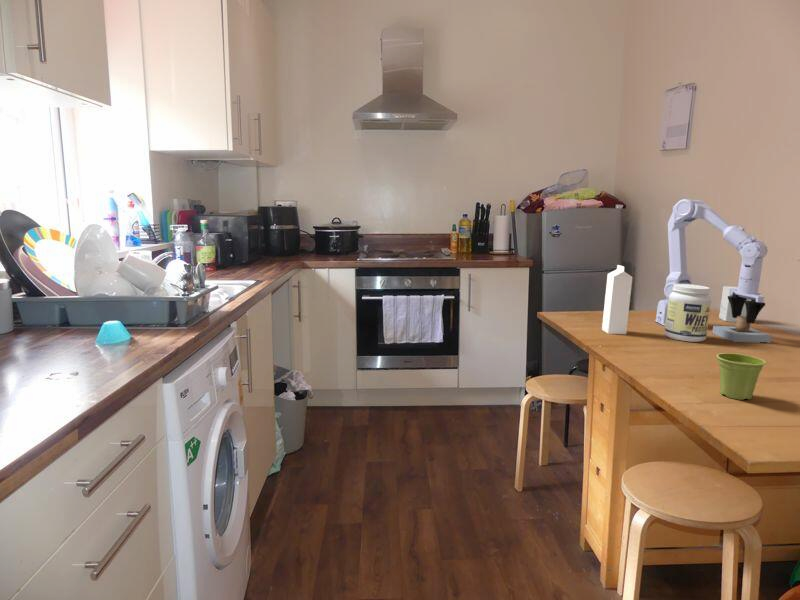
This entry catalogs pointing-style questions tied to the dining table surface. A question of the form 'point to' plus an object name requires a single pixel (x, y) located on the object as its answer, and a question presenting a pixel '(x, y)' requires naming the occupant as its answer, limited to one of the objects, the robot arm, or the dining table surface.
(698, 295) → the supplement tub
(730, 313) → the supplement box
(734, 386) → the plant pot
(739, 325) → the dowel
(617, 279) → the milk
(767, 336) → the socket block
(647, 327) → the dining table surface
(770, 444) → the dining table surface
